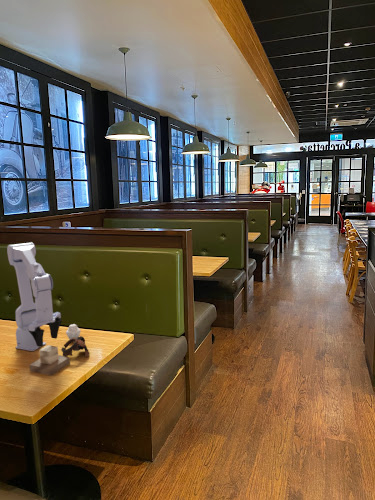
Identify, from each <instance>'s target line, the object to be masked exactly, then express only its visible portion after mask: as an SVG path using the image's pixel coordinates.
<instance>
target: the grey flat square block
mask: <svg viewBox="0 0 375 500" xmlns="http://www.w3.org/2000/svg"><path fill="white" fill-rule="evenodd" d="M58 358H59V359H58V360H57V361H55V362H53V363H52V364H45V363H41V362H40V358H38V359H37V360H35V361H33V362H32V363H30V364H29V372H32V373H37V374H42V375H45V376H46V375H47V376H51V377H52V376H54V375H55V374H57V373H58V372H60V370H62V369H64V368H65V367H67V366H68V365H70V364H71V361H70V360H71V359H70V357H69V356H63V355H59V354H58Z"/></svg>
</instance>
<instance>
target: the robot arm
mask: <svg viewBox="0 0 375 500" xmlns="http://www.w3.org/2000/svg"><path fill="white" fill-rule="evenodd" d="M6 250H7V252H6V253H7V258H8V262H9V265H10V266H13V267H14V270H15V274H16V278H17V279H16V280H17V286H18V292H19V297H20V303H21V304H20V305H19V306H18V307H17V308H16V309H15V322H16V326H17V328H16V330H15V339H16V346H15V349H18V350H19V349H20V350H25V351H31V352H34V351H36V350H38V349H40V348H42V347H43V346H45V345H46V344H47V342H45V341H44V333H45V329H43V328H41V327H42V326H44V325H48V327H49V332H50V337H51V339H58V336H59V329H60V326H61V324H62V322H63V320H62V319H61V318H62V314H61V312H59V311H56V312H54V310H53V309H54V308H53V298H52V297H53V296H52V290H54V289H53V288H54V281H53V278H52V275H51V274H49V273H46V271H45V269H44V268H43V266H42V264H40V263H39V262H36V261H37V260H36V258H35V257H36V254H37V249H36V246H35V243H33V242H32V241H30V242H26V243H25V242H24V243H16V244H15V243H14V244H8V245H7V249H6ZM33 297H34V298H33Z"/></svg>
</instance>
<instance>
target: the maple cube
mask: <svg viewBox="0 0 375 500" xmlns="http://www.w3.org/2000/svg"><path fill="white" fill-rule="evenodd" d="M58 350H59V349H58V346H55V345H49V344H47V345H46V346H44V347H43V348H42V347H41V348H39V350H38V351H39V359H40V362H41V363H45V364H52V363H53V362H55V361H57V360H58V359H59V358H58V355H59V351H58Z"/></svg>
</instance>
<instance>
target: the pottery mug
mask: <svg viewBox="0 0 375 500" xmlns="http://www.w3.org/2000/svg"><path fill="white" fill-rule="evenodd" d="M71 344H72V345H71ZM70 345H71V346H70ZM68 346H69V347H68ZM81 350H84V355H85V357H86V358H88V357H89V356H90V351H89V349H88V346H87V344H86V339H85V338H84V336H82V335H79V337H78V338H72V339H69V340H67V341H65V343H64V344H63V347H62V348H61V352H62V356H65V357H69V356H71V357H72V356H73V352H79V351H81Z"/></svg>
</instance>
